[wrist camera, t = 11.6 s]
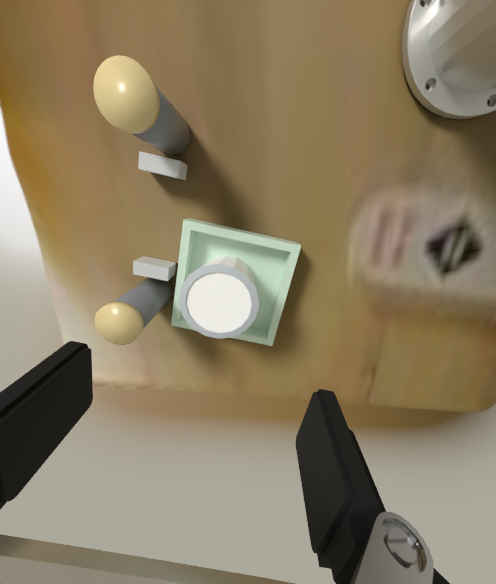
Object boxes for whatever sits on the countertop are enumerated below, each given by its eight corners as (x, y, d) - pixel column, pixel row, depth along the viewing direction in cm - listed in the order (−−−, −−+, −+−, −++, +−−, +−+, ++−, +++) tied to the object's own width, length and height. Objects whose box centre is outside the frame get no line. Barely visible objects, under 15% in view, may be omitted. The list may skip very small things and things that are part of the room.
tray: (297, 242, 26) (301, 245, 24) (270, 334, 30) (272, 346, 28) (190, 218, 25) (183, 219, 23) (177, 315, 29) (170, 325, 27)
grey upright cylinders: (193, 116, 22) (157, 64, 14) (171, 307, 29) (138, 348, 21) (153, 106, 22) (93, 48, 14) (140, 301, 29) (94, 340, 21)
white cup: (257, 308, 28) (257, 341, 22) (198, 307, 28) (180, 338, 22) (259, 249, 26) (260, 265, 19) (195, 248, 26) (174, 263, 19)
